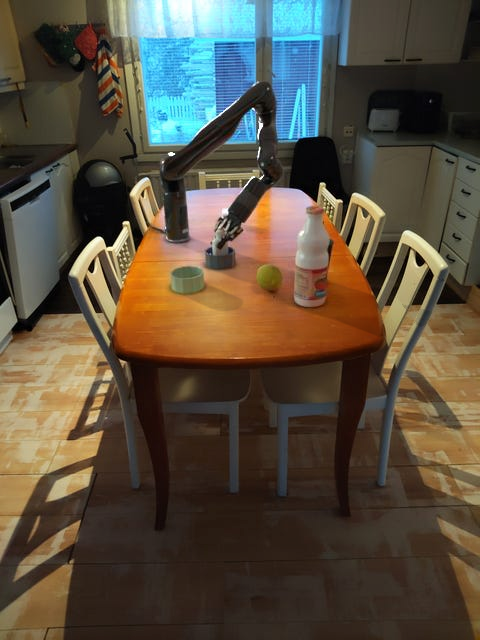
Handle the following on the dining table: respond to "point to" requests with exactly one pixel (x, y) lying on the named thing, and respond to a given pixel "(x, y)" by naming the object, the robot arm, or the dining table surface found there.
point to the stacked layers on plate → (225, 212)
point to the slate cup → (220, 259)
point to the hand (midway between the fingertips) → (215, 246)
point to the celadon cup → (187, 279)
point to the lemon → (269, 277)
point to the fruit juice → (312, 260)
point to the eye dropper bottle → (218, 236)
